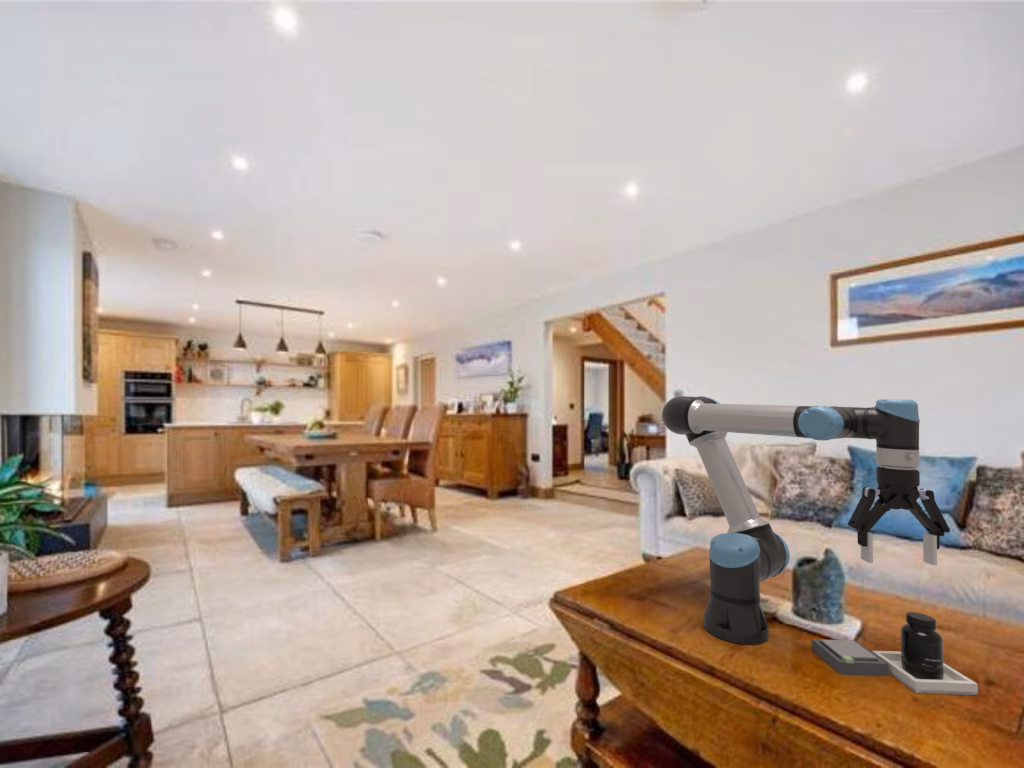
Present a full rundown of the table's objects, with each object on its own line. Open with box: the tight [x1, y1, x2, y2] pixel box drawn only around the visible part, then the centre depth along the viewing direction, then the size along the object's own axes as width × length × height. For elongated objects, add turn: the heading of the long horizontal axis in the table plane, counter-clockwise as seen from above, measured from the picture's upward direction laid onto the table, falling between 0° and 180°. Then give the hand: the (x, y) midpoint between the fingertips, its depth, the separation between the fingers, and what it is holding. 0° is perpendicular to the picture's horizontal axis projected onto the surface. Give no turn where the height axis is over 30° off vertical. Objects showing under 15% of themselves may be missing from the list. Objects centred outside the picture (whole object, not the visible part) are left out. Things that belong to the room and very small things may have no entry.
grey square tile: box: [821, 639, 877, 661], centre depth 105 cm, size 7×7×1 cm
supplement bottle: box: [900, 611, 944, 680], centre depth 99 cm, size 7×7×12 cm
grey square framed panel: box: [811, 638, 889, 677], centre depth 104 cm, size 10×10×3 cm
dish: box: [871, 650, 979, 696], centre depth 99 cm, size 12×12×2 cm
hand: (898, 562), depth 104 cm, fingers open, 13 cm apart
